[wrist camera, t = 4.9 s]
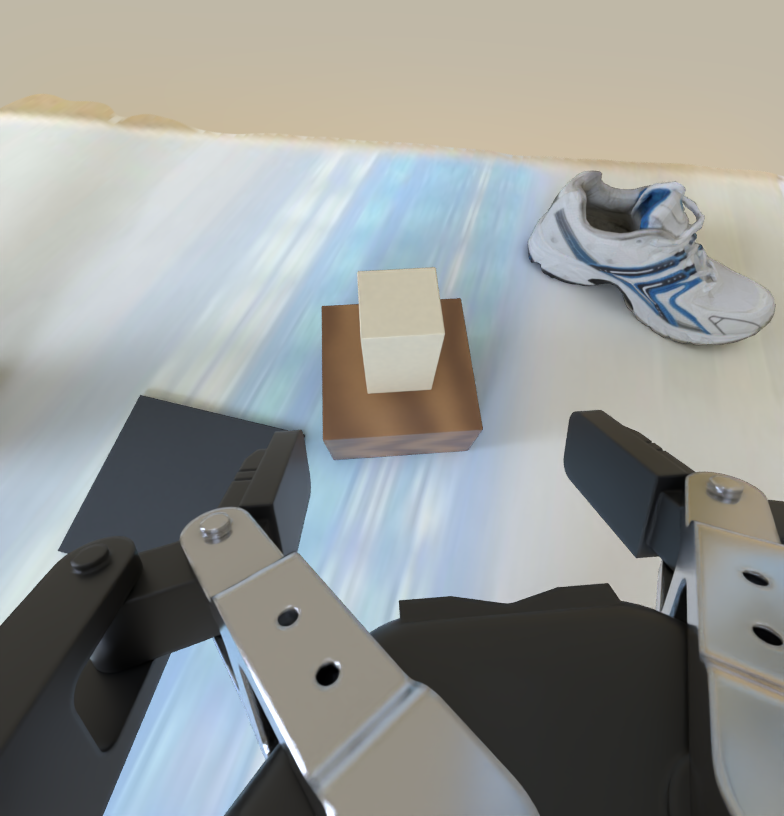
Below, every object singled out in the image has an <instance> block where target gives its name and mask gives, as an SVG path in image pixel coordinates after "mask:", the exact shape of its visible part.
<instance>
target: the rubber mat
mask: <svg viewBox="0 0 784 816" xmlns="http://www.w3.org/2000/svg"><path fill="white" fill-rule="evenodd" d="M278 431H288V430H283V429H279V428H275V427H271V426H267V425H263V424H259V423H254V422H250V421H246V420H242V419H238V418H234V417H229V416H225V415H221V414H217V413H213V412H209V411H204V410H200V409H196V408H192V407H188V406H184V405H180V404H175V403H171V402H167V401H163V400H159V399H155V398H150V397H146V396H142V395H140V397H139V398H138V400H137V402H136V404H135V406H134V408H133V410H132V412H131V414H130V415H129V417H128V419H127V421H126V423H125V425H124V427H123V429H122V431H121V432H120V434H119V436H118V438H117V440H116V442H115V444H114V446H113V448H112V449H111V451H110V453H109V455H108V457H107V459H106V461H105V463H104V465H103V466H102V468H101V470H100V472H99V474H98V476H97V478H96V480H95V482H94V483H93V485H92V487H91V489H90V491H89V493H88V495H87V497H86V498H85V500H84V502H83V504H82V506H81V508H80V510H79V512H78V514H77V515H76V517H75V519H74V521H73V523H72V525H71V527H70V529H69V531H68V532H67V534H66V536H65V538H64V540H63V542H62V544H61V546H60V548H59V549H58V551H60V552H64V553H67V554H69V553H70V552H72V551H74V550H75V549H77V548H79V547H81V546H83V545H85V544H87V543H90V542H92V541H95V540H98V539H102V538H106V537H111V536H124V537H128V538H130V539H132V541H133V542H134V544H135V546H136V549H137V551H138V553H139V552H142V551H146V550H149V549H153V548H156V547H160V546H163V545H167V544H170V543H173V542H177V541H179V540H180V535H181V532H182V531H183V529H184V528H185V527H186V526H187V525H188V524H189V523H190V522H191V521H192V520H194V519H195V518H197V517H198V516H200V515H202V514H204V513H206V512H208V511H211V510H214V509H217V507H218V506H219V504H220V502H221V500H222V499H223V497H224V495H225V493H226V492H227V490H228V488H229V486H230V485H231V483H232V481H234V478H235V476H236V474H237V472H239V469H240V467H241V465H242V463H243V462H244V460H245V459H246V458H247V457H248V456H250V455H251V454H252V453H253V452H255V451H256V450H257V449H267V447H268V445H269V443H270V441H271V439H272V437H273V435H274V433H275V432H278ZM303 435H304V434H303ZM304 437H305V435H304Z"/></svg>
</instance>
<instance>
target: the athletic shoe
mask: <svg viewBox="0 0 784 816" xmlns="http://www.w3.org/2000/svg"><path fill="white" fill-rule="evenodd" d="M601 178H602V173H601V172H599V171H584V172H582V173H580V174H578V175H577V176H575V177H574V178H573V179H572V180H571V181H570V182H569V183H568V184H567V185H566V186H565V187H564V188H563V189H562V190H561V191H560V193H559V194H558V195H557V197H556V198H555V200H554V202H553V203H552V205H551V207H550V208H549V210H548V212H547V213H545V214H544V215H543V216H542V217H541V218H540V219H539V221H538V223H537V224H536V226H535V228H534V231H533V232H532V234H531V236H530V238H529V240H528V252H529V259H530V260H531V262H538V263H540V264H541V268H542V271H543V273H545V274H547V275H549V276H550V277H551V278H557V279H558V280H560V281H563V282H566V283H571V284H580V285H589V286H590V285H598V284H604V283H610V284H614V285H615V286H617V287H618V288H619V289H620V291H621V292H622V294H623V296H624V301H625V303H626V305H627V307H628V308H629V309H630V310H631V311H632V312H634V313H635V315H636V318H637V319H638V320H639V321H641V322H643V323H644V324H645V325H646V326H650V327H651V329H652V331H654V332H656V333H658V334H659V335H661V336H662V337H666V336H669V337H670V339H672V340H674V341H677V342H680V343H684V344H685V343H687V342H692V343H693V344H695V345H706V344H714V345H721V344H726V343H734V342H738V341H740V340H743V339H745V338H748V337H750V336H753V335H755V334H756V333H758V332H759V331H760V330H761V329H762V328H763V327H765V326H766V325H767V324H768V323H769V322H770V321H771V319H772V317H773V315H774V312H775V306H776V305H775V303H774V297H773V296H772V294H771V292H770V291H769V290H768V289H766V288H765V287H763V286H761V285H760V284H758V283H756V282H755V281H753V280H751V279H749V278H747V277H745V276H743V275H741V274H739V273H737V272H735V271H733V270H731V269H729V268H728V267H726V266H724V265H723V264H721V263H719V262H717V261H715V260H713V259H711V258H710V257H708V256H707V254H706V252H705V250H704V248H703V247H702V245H701V244H698V243H695V240H696V238H697V235H696V233H695V232H697V231H698V230H700V229H701V228H702V225H703V222H704V219H705V216H704V215H703V214H702V213H701V212H700V210H699V208H698V207H697V205H696V203H695V202H694V201H692V200H691V199H689V198H687V197H685V196H684V194H685V191H686V190H685V187H684V186H683V185H681V184H680V183H678V182H676V181H675V182H665V183H656V184H653V185H649V186H645V187H640V188H637V189H618V188H613V187H610V186H609V185H607V184H605V183H604V182H603V181H602V180H601ZM682 202H683V203H684V205H685V207H687V208H688V209H689V210H691V211H692V212H693V213H694V215H695V216H696V220H697V221H696V222H695V223H694V224H692V225H691V224H689V219H688V217H687V215H686V213H685V212H684V210H685V209H684V207H683V204H682Z"/></svg>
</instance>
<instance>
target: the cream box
mask: <svg viewBox="0 0 784 816" xmlns="http://www.w3.org/2000/svg"><path fill="white" fill-rule="evenodd" d="M357 278H358V298H359V318H360V337H361V346H362V354H363V362H364V369H365V377H366V385H367V393H368V394H371V393H387V392H402V391H418V390H431V389H432V385H433V381H434V377H435V373H436V368H437V364H438V360H439V356H440V352H441V348H442V344H443V340H444V336H445V330H444V323H443V316H442V309H441V302H440V295H439V288H438V282H437V275H436V268H435V267H431V268H413V269H394V270H376V271H358V272H357Z"/></svg>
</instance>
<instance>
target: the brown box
mask: <svg viewBox="0 0 784 816" xmlns="http://www.w3.org/2000/svg"><path fill="white" fill-rule="evenodd" d="M440 302H441V309H442V316H443V323H444V330H445V336H444V340H443V344H442V348H441V352H440V356H439V360H438V364H437V368H436V373H435V377H434V381H433V385H432V389H431V390H418V391H402V392H387V393H371V394H368V393H367V385H366V377H365V369H364V362H363V354H362V346H361V337H360V318H359V304H352V305H334V306H322V397H323V441H324V443H325V445H326V447H327V448H328V450H329V452H330V454H331V456H332V458H333V460H341V459H356V458H370V457H384V456H398V455H412V454H427V453H441V452H455V451H468V450H469V448H470V447H471V445H472V444H473V442H474V441H475V440H476V438H477V437H478V435H479V434H480V432H481V431H482V430H483V427H482V421H481V415H480V410H479V404H478V398H477V392H476V386H475V380H474V374H473V368H472V362H471V356H470V350H469V344H468V338H467V333H466V327H465V321H464V315H463V309H462V303H461V298H457V299H440Z"/></svg>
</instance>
